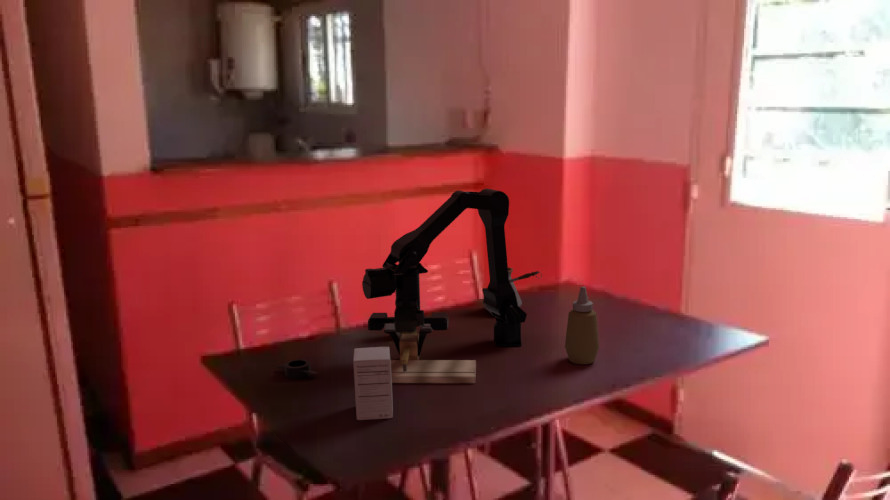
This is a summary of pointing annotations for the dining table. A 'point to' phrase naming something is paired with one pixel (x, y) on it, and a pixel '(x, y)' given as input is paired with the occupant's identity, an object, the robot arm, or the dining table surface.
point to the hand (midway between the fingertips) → (409, 355)
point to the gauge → (408, 348)
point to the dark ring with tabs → (297, 369)
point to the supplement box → (373, 383)
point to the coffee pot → (514, 285)
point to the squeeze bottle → (582, 331)
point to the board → (434, 371)
